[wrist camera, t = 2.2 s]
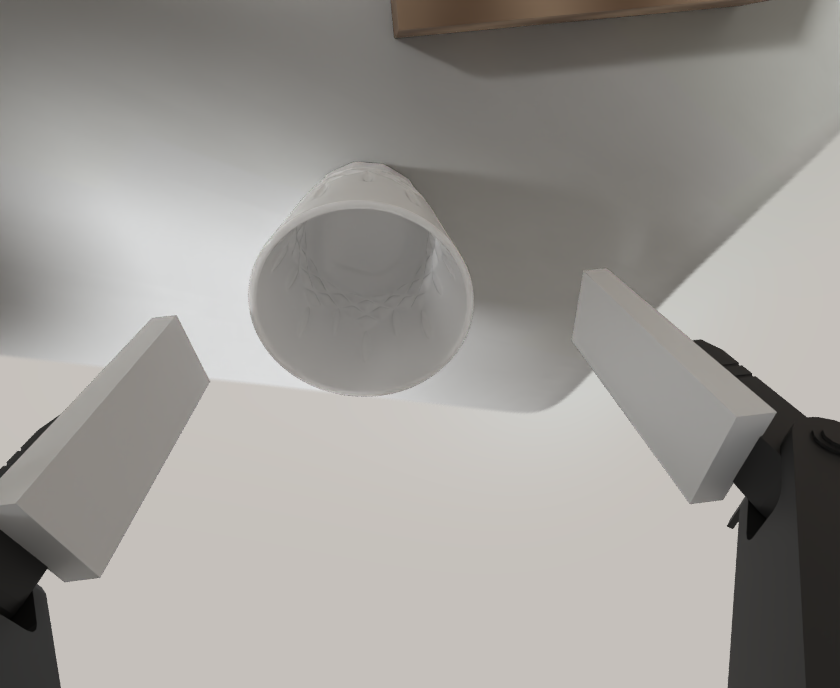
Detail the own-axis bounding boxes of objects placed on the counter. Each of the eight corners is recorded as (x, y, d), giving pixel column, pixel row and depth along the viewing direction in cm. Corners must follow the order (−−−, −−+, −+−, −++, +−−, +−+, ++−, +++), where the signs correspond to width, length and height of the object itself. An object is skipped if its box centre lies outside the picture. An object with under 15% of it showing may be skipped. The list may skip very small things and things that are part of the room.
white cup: (443, 276, 24) (479, 379, 16) (319, 297, 24) (292, 411, 16) (428, 136, 20) (466, 180, 12) (274, 162, 20) (205, 224, 12)
